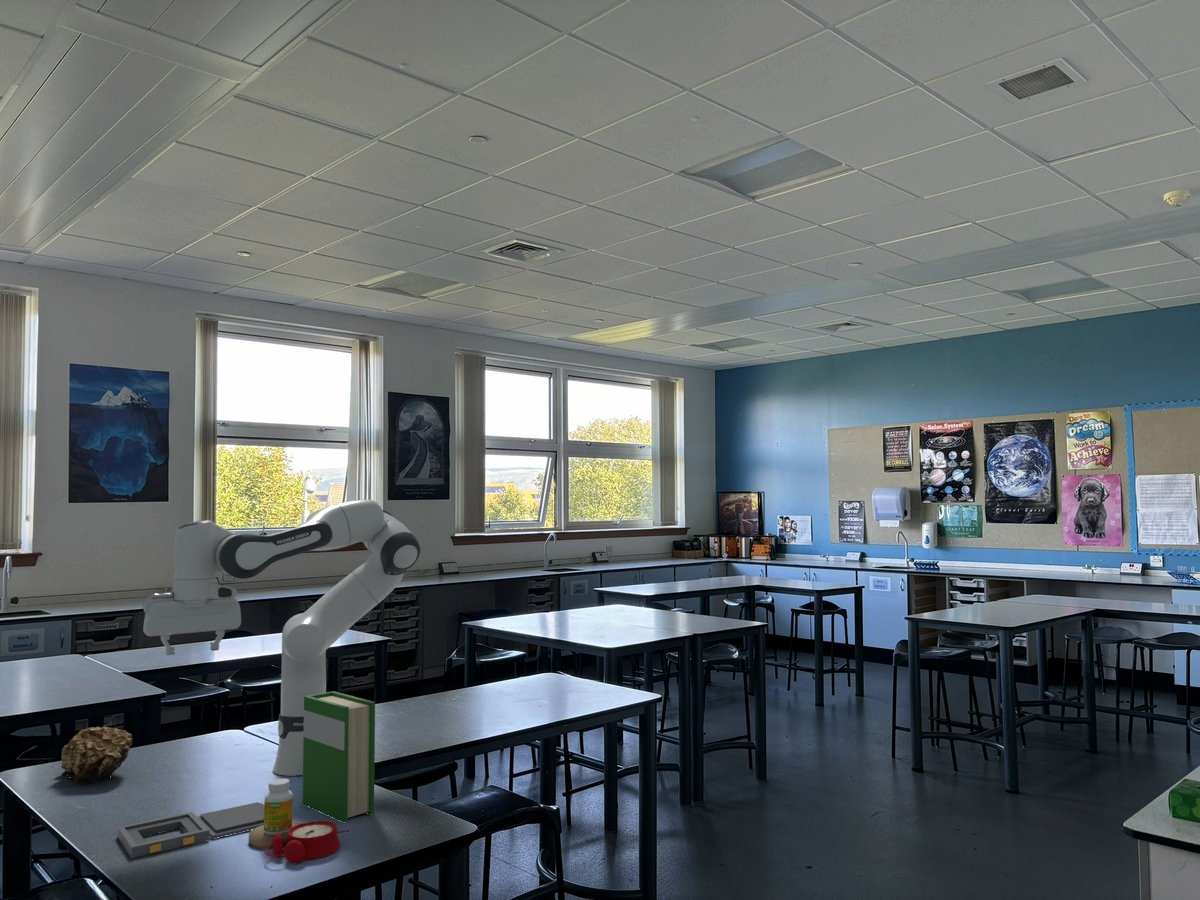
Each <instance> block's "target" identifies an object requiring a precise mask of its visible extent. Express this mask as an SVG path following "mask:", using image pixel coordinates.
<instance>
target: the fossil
mask: <svg viewBox="0 0 1200 900" xmlns="http://www.w3.org/2000/svg"><path fill="white" fill-rule="evenodd" d="M132 745H133V735H132V733H129V732H128V731H126V730H123V729H118V728H117V727H115V728H112V727H107V726H102V727H100V726H96V727H94V726H91V727H87V728H85V729H80V730H79V731H78V734H76V735H74V736H73V737H72V738H71V739H70V740H69V742H68V743H67V744H65V745H63V748H62V749H61V767H60V768H61V769H63V770H64V771H63V772H62V773H61V775H62V776H66V775H68V777H71V778H73V779H72V780H74V781H75V782H76V784H77V785H81V784H86V783H93V782H101V781H104V778H105V779H106V780H111V779H110V775H111V776H112V774H113V773H114V772H116V771H117V770H118V769H119V768H120V767H121V766H122V764H123V763H124V762H125V761H126V759H127V758H128V755H129V752H130V748H131V746H132ZM68 777H67V778H68Z"/></svg>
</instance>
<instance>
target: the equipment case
mask: <svg viewBox="0 0 1200 900" xmlns="http://www.w3.org/2000/svg"><path fill="white" fill-rule="evenodd" d="M262 825H264V804H263V803H262V802H258V801H256V802H252V803H248V804H244V805H243V804H242V805H239V806H233V807H229V808H224V809H219V810H214V811H210V812H205V813H201V814H200V815H197V816H196V814H195V813H194V812H193V811H188V812H184V813H179V814H174V815H170V816H165V817H160V818H155V819H151V820H146V821H141V822H137V823H132V824H127V825H122V826H118V827H117V838H118V840H119V841H120V843H121V844H122V846H123V848H124V849H125V850H126V852H127V853H128V855H129V856H130V858H131V859H134V858H140V857H143V856H147V855H148V856H149V855H151V854H156V853H161V852H164V851H169V850H174V849H177V848H183V847H186V846H187V847H188V846H191V845H195V844H194V843H196V844H199V843H198V842H200V843H203V842H202V841H204V842H207V841H206V840H209V841H210V839H211V838H212V839H213V840H215V839H214V838H217V837H221V836H225V835H230V834H234V833H239V832H243V831H247V830H251V829H255V828H257V827H259V826H262ZM177 828H181V829H180V830H181V832H182V831H183V832H184V833H183V832H182V833H179V834H175V835H169V836H166V837H161V838H157V839H152V840H148V841H146V840H145V839H144V837H146V836H145V835H148V836H151V835H150V834H153V835H155V834H154V833H157V834H160V833H159V832H162V833H164V832H163V831H167V832H169V831H168V830H171V831H173V830H172V829H176V830H178V829H177ZM243 833H244V832H243ZM239 834H240V833H239ZM142 836H144V837H142ZM209 836H210V837H211V838H210V837H209ZM230 836H231V835H230ZM212 839H211V840H212ZM217 839H218V838H217ZM190 844H191V845H190Z"/></svg>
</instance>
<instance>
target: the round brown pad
mask: <svg viewBox="0 0 1200 900" xmlns="http://www.w3.org/2000/svg"><path fill="white" fill-rule="evenodd" d="M303 823H304V822H301V821H294V820H292V827H294V826H297V825H299V824H303ZM287 834H288V832H287V833H284V834H281V836H282V844H283V846H286V844H287ZM273 837H274V835H268V834H266V833H265V832H264V825H262V826H259V827H257V828H255V829H253V830H252V831H249V832H248V845H249V844H250V845H251V846H250V845H249V846H250V847H252V848H254V847H255V849H259V848H260V849H259V850H266V849H267V848H269V846H270V845H272V841H273ZM269 850H273V849H272V848H270V849H269Z"/></svg>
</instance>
